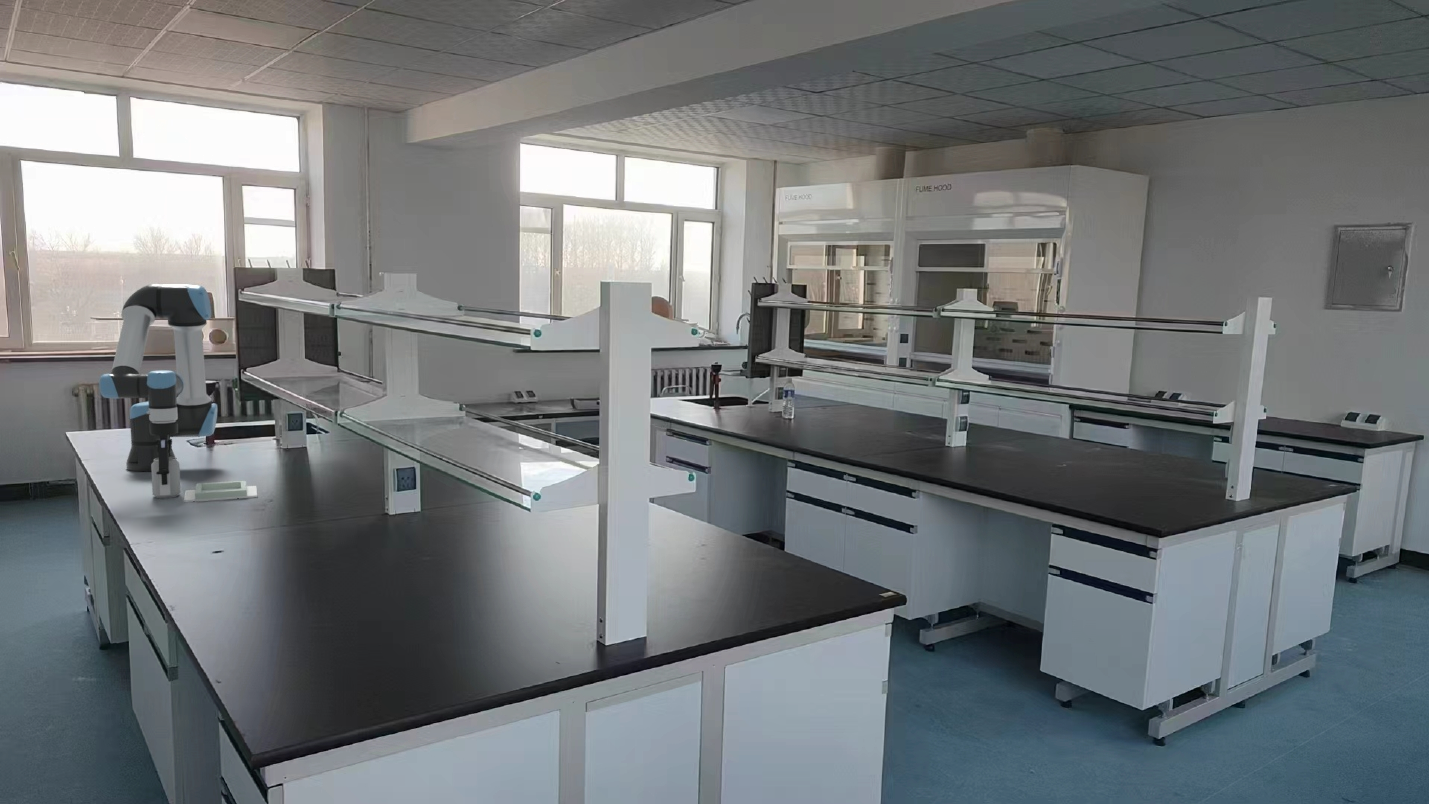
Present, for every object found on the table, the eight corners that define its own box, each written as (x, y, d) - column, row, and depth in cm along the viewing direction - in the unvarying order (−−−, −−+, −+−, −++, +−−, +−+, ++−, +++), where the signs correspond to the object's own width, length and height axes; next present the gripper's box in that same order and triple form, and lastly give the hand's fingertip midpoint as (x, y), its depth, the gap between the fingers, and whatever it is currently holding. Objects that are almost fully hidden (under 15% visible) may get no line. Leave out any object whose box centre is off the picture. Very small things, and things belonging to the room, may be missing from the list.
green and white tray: (185, 492, 295) (185, 484, 294) (256, 487, 304) (256, 480, 303) (183, 502, 282) (183, 494, 282) (257, 497, 291) (257, 489, 291)
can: (171, 499, 285) (169, 461, 283) (147, 498, 285) (145, 460, 284) (185, 493, 292) (184, 456, 291) (162, 493, 293) (160, 455, 291)
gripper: (152, 415, 295) (155, 482, 297) (146, 428, 273) (149, 499, 276) (179, 414, 298) (182, 481, 301) (175, 427, 277) (178, 498, 280)
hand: (166, 490), depth 289 cm, fingers open, 12 cm apart
